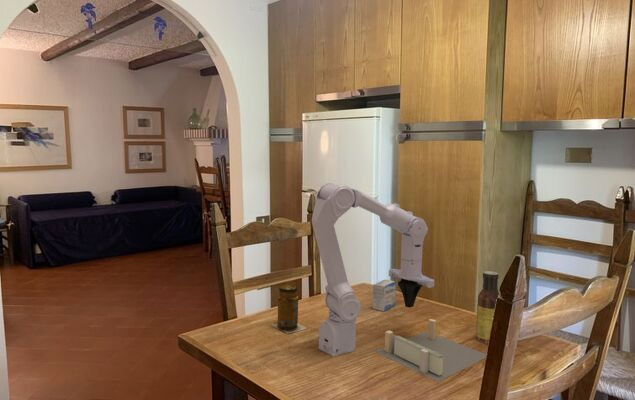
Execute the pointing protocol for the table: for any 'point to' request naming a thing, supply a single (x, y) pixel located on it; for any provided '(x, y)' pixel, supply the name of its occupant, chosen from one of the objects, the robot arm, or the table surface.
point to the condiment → (288, 310)
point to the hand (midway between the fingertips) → (409, 306)
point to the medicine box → (384, 295)
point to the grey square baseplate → (452, 352)
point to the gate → (416, 353)
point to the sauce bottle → (486, 306)
